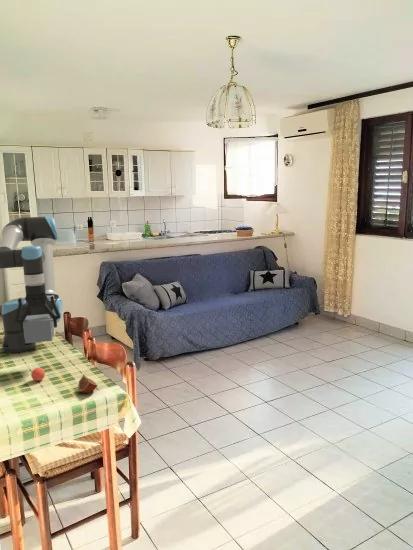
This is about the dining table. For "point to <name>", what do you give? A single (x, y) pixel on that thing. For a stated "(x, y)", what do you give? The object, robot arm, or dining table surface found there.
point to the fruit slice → (86, 385)
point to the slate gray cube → (38, 328)
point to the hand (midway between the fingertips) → (40, 336)
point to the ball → (38, 374)
